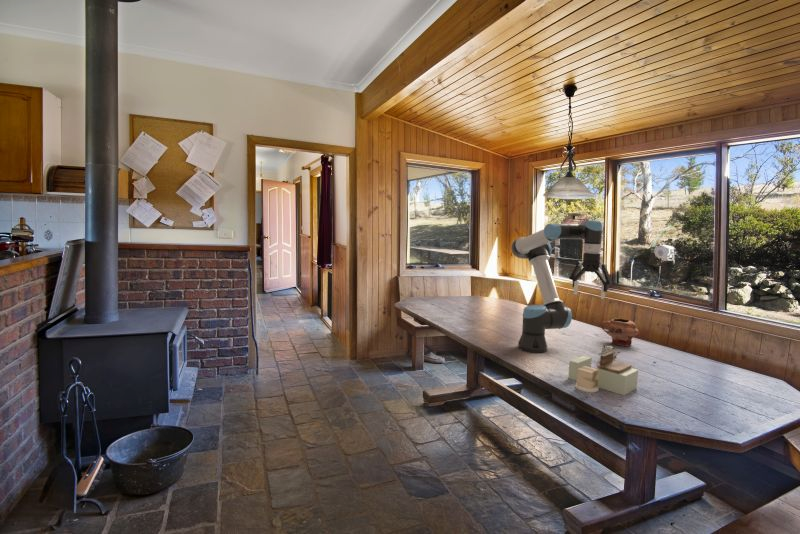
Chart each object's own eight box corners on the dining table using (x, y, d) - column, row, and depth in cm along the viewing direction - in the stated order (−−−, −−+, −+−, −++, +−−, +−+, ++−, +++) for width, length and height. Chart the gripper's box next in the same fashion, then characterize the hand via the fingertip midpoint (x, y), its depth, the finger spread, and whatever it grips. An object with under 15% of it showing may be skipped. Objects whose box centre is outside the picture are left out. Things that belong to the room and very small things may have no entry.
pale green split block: (568, 378, 198) (569, 360, 197) (581, 372, 206) (583, 355, 205) (624, 395, 180) (625, 376, 179) (636, 388, 188) (638, 369, 187)
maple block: (583, 381, 191) (585, 365, 190) (597, 386, 186) (598, 369, 185) (576, 384, 187) (577, 368, 186) (590, 389, 182) (591, 372, 182)
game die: (612, 369, 222) (623, 357, 216) (595, 362, 224) (605, 350, 217) (612, 356, 229) (623, 344, 222) (596, 349, 230) (606, 337, 223)
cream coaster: (571, 387, 187) (571, 384, 187) (581, 382, 193) (582, 380, 193) (592, 394, 180) (592, 391, 180) (602, 389, 186) (602, 386, 186)
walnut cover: (596, 367, 188) (597, 355, 187) (609, 361, 196) (610, 350, 195) (618, 373, 181) (619, 361, 181) (631, 367, 189) (632, 355, 188)
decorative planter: (596, 342, 256) (598, 318, 255) (602, 338, 266) (603, 315, 264) (635, 349, 244) (637, 324, 243) (639, 344, 254) (641, 320, 252)
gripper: (563, 251, 222) (561, 293, 225) (614, 255, 203) (611, 301, 206) (571, 250, 227) (568, 291, 230) (622, 254, 208) (618, 299, 211)
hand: (588, 296), depth 218 cm, fingers open, 13 cm apart
